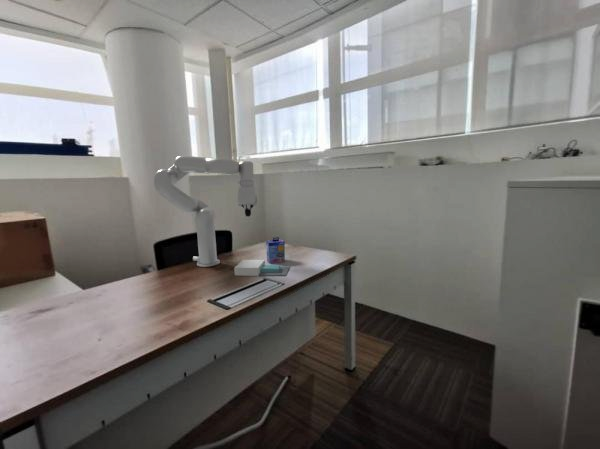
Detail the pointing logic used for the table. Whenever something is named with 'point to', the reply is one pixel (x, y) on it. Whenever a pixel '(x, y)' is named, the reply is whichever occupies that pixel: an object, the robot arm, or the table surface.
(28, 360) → the table surface
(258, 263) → the grey flat block
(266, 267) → the teal tile
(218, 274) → the table surface
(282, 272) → the mat
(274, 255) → the ink cartridge box
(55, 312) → the table surface
